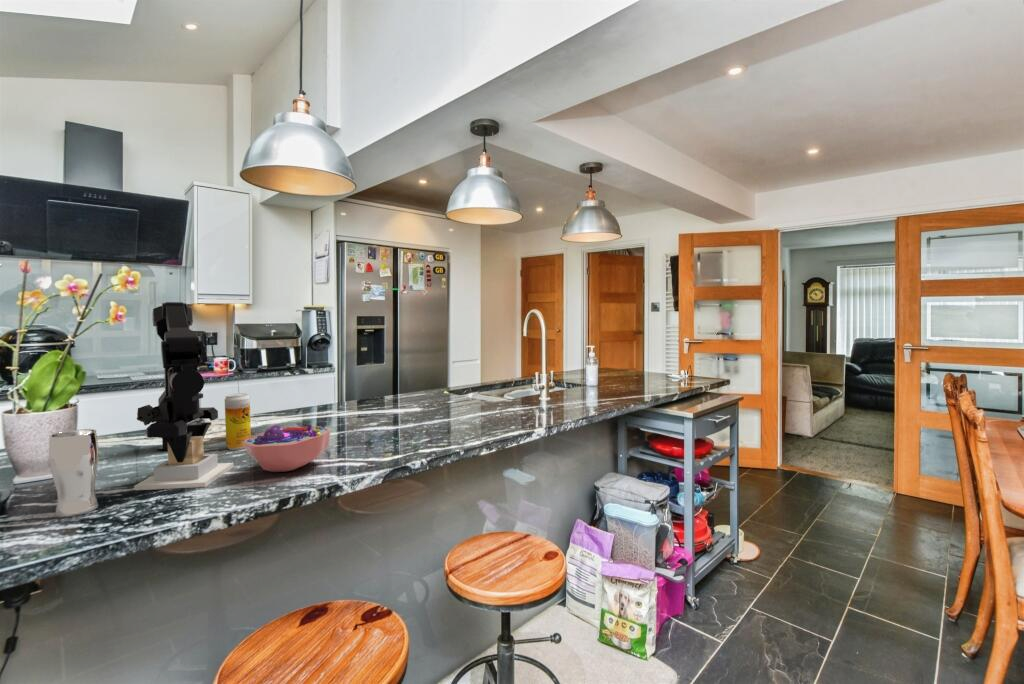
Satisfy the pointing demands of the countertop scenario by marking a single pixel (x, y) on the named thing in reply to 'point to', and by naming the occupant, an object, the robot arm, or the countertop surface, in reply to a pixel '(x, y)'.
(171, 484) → the socket plate
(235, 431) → the beer can
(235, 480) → the countertop surface
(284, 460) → the cell model
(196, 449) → the tan block
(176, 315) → the robot arm
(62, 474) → the beer glass
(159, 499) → the countertop surface
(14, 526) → the countertop surface
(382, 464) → the countertop surface
